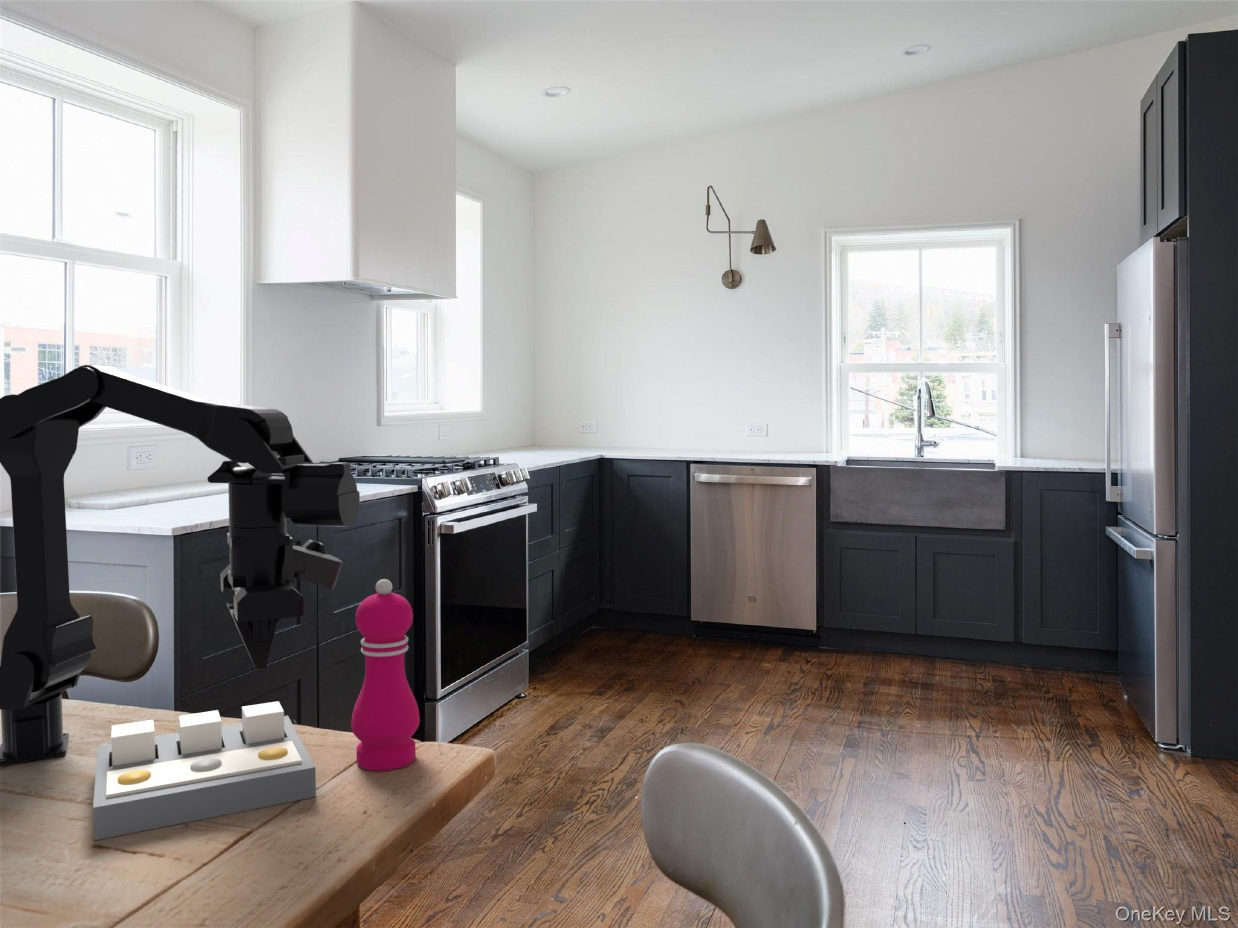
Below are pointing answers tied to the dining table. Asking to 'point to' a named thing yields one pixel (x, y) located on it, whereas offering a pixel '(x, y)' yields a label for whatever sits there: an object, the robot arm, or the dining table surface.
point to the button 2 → (262, 722)
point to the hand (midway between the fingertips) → (260, 668)
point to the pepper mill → (385, 684)
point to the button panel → (199, 781)
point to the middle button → (200, 732)
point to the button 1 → (133, 742)
